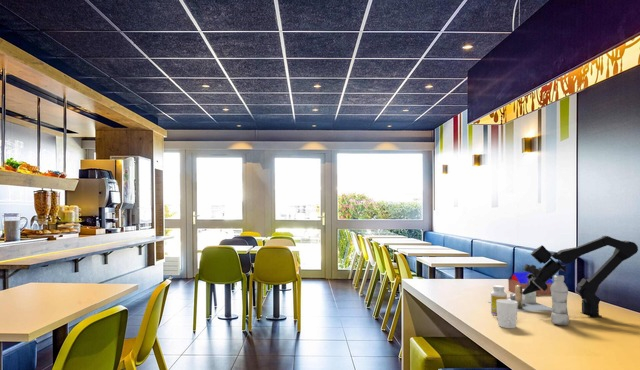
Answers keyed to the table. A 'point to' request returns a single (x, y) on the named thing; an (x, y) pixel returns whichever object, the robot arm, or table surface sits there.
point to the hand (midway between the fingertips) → (522, 293)
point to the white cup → (506, 313)
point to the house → (523, 281)
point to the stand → (532, 303)
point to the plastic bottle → (559, 301)
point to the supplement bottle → (497, 297)
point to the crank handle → (517, 296)
